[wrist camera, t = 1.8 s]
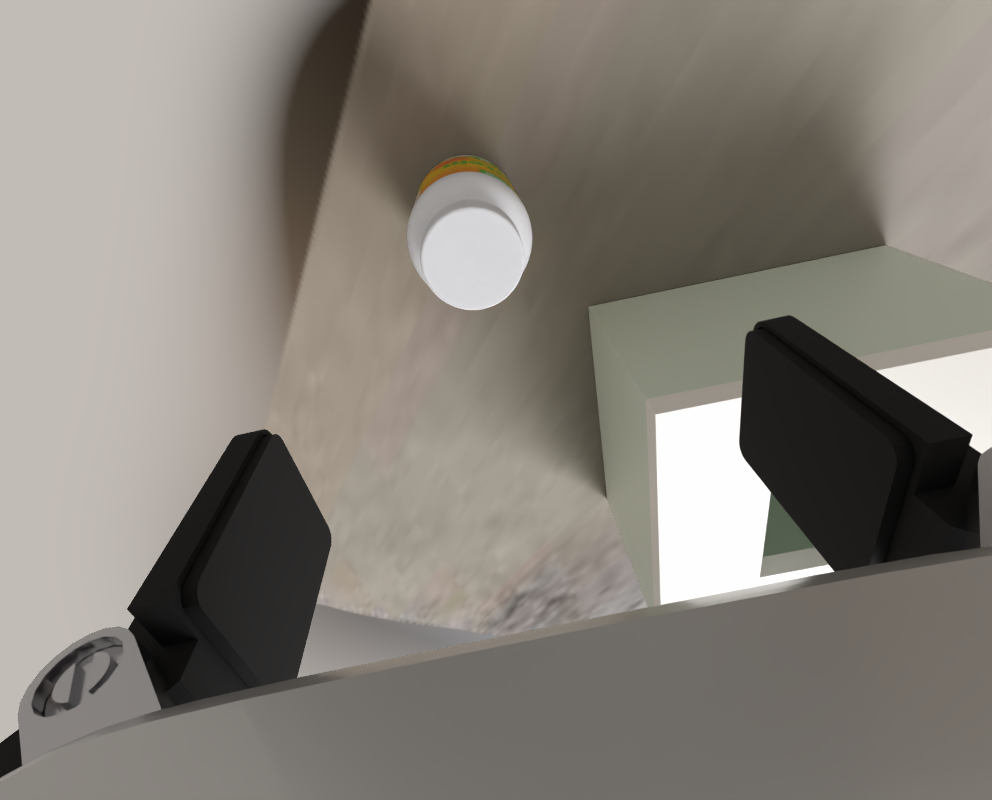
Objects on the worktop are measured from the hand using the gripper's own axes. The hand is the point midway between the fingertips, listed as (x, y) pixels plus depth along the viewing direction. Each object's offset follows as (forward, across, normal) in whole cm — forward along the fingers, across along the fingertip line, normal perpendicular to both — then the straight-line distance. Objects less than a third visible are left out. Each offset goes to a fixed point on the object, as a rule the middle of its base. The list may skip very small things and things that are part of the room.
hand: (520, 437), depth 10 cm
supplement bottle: (+21, 0, -1) cm, 21 cm away
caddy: (+21, -14, +15) cm, 29 cm away
